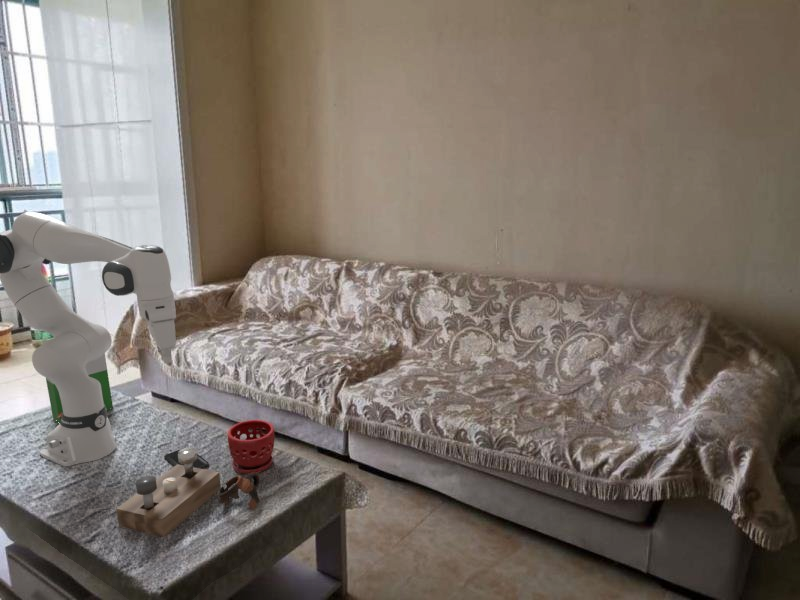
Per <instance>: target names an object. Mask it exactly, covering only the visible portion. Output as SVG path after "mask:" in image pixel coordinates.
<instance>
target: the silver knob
mask: <svg viewBox="0 0 800 600" xmlns="http://www.w3.org/2000/svg"><path fill="white" fill-rule="evenodd" d="M183 448H184V449H182V448H181V450H180V449H179V450H180V451H179V452H178V460H179V463H181V464H184V469H185V476H186V477H191V476H193V475H194V470H193V462H194V461H196V459H197V455H196V453H197V450H196V448H195V447H190V446H189V447H188V448H186V447H183Z"/></svg>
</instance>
